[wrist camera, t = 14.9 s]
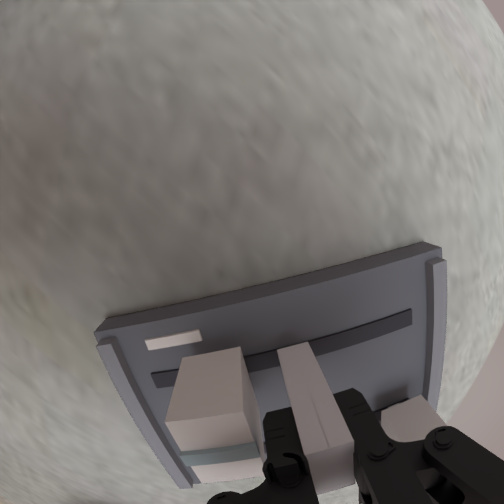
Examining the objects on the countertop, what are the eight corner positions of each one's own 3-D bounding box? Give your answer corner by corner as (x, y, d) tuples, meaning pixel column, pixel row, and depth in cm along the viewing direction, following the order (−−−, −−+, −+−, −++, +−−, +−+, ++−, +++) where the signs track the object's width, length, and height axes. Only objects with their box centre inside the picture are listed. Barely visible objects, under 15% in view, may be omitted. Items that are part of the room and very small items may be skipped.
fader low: (373, 438, 17) (405, 499, 11) (373, 399, 16) (414, 465, 10) (409, 423, 17) (446, 478, 11) (413, 384, 16) (461, 441, 10)
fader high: (208, 404, 16) (200, 487, 10) (184, 345, 15) (162, 426, 9) (258, 395, 16) (269, 479, 10) (240, 334, 15) (244, 415, 9)
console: (182, 466, 20) (178, 492, 17) (106, 318, 17) (87, 338, 14) (420, 406, 20) (436, 426, 17) (423, 241, 17) (449, 250, 14)
